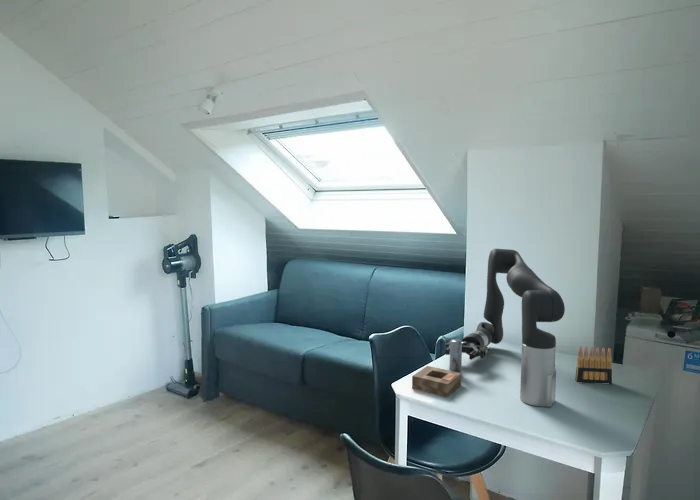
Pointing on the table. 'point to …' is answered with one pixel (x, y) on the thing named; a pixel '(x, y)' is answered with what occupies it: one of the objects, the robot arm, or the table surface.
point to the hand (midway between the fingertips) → (458, 354)
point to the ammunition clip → (594, 367)
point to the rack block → (436, 380)
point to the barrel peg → (455, 355)
